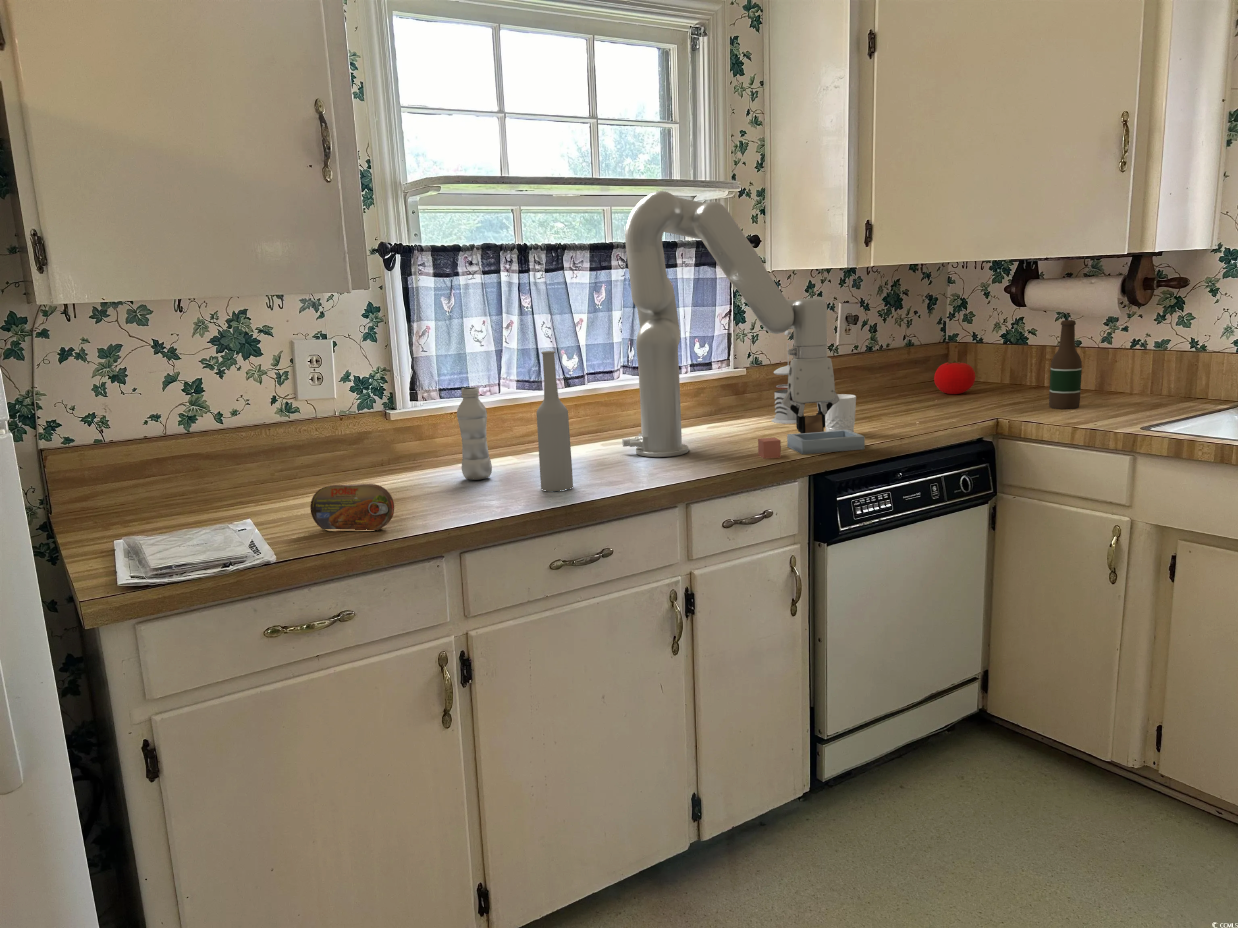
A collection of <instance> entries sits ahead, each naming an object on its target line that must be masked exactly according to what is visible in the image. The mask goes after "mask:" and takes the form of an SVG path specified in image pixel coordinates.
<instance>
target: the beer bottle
mask: <svg viewBox="0 0 1238 928" xmlns="http://www.w3.org/2000/svg"><path fill="white" fill-rule="evenodd" d="M1075 325H1077V323H1076V320H1074V319H1064V320H1061V322H1060V326H1061V331H1060V337H1059V338H1060V339H1059V345H1058V349H1057V351H1056V352H1055V354H1053V357H1052V358H1051V359H1052V360H1051V361H1050V369H1049V370H1050V371H1049V372H1050V373H1049V391H1048V393H1049V396H1048V405H1049V408H1051V409H1052V410H1053V409H1056V410H1076V409H1079V407H1080V402H1081V392H1082V391H1081V388H1082V387H1081V386H1082V372H1083V370H1082V369H1083V368H1082V367H1083V365H1082V362H1083V361H1082V359H1081V356H1080V354H1079V353H1078V351H1077V349H1076V338H1075V337H1076V334H1075V331H1076V330H1075V329H1076V328H1075V327H1076V326H1075Z"/></svg>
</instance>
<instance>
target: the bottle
mask: <svg viewBox="0 0 1238 928" xmlns="http://www.w3.org/2000/svg"><path fill="white" fill-rule="evenodd" d="M555 353H556V351H555V350H543V351H541V353H540V354H541V355H542V368H543V401H542V402H541V404H540V405H539V407H538V408H537V411H536V424H537V425H536V426H537V428H536V429H537V430H536V431H537V442H538V443H537V445H538V457H539V458H538V460H539V462H538V463H539V477H540V490H541V489H543V490H546V491H545V492H547V491H560V490H565V489H570V488H572V487H573V488H574V480H573V463H572V450H571V448H572V447H571V435H570V419H569V410H568V408H567V407H566V406H565V404H564V403H563V402H562V401H561V399H560V397H559V390H558V383H557V371H556V370H557V369H556V359H555V358H556V357H555V355H556V354H555ZM573 488H572V489H573ZM570 490H571V489H570ZM560 492H561V491H560Z"/></svg>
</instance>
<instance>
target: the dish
mask: <svg viewBox="0 0 1238 928" xmlns="http://www.w3.org/2000/svg"><path fill="white" fill-rule="evenodd" d="M786 436H787V440H786V441H787V442H786V444H787V447H788V448H789V449H792V450H793V451H794V452H797V453H798V454H799V453H800V454H801V455H809V454H810V455H811V454H823V453H824V454H825V453H834V452H835V453H836V452H844V451H845V452H846V451H859V450H865V443H866V442H865V440H866V439H865V437H866V436H864V435H862V434H859V433H856V432H852V431H849V430H835V431H826V430H824V432H815V433H802V434H800V432H799V433H788V434H787V435H786Z"/></svg>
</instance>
